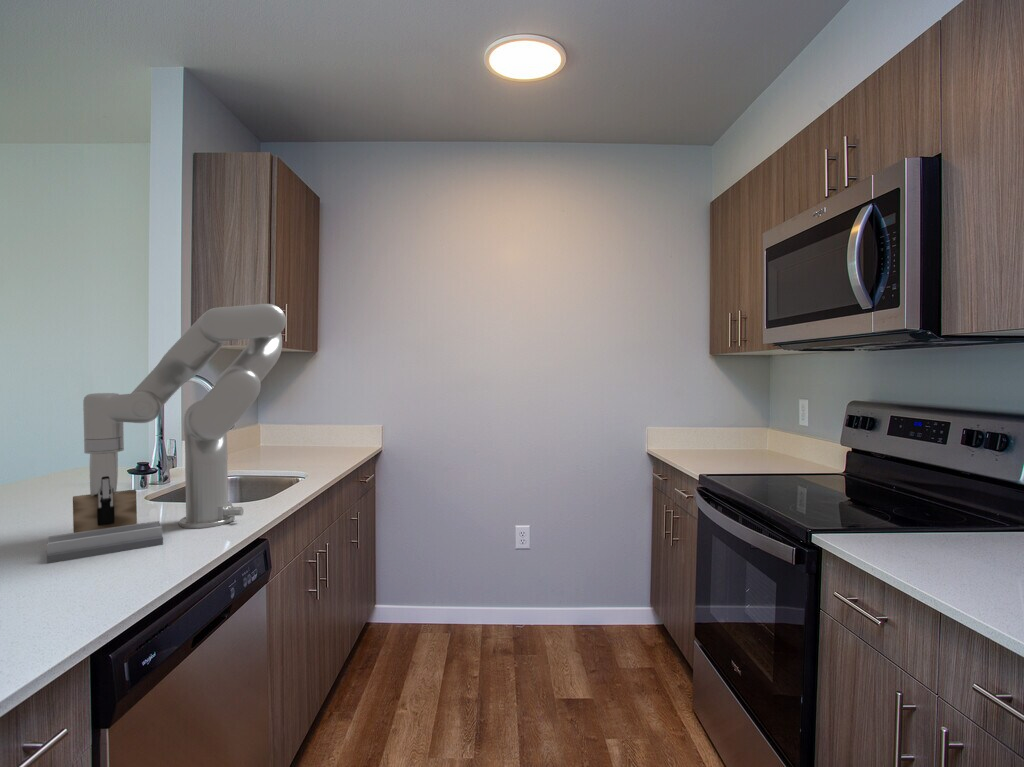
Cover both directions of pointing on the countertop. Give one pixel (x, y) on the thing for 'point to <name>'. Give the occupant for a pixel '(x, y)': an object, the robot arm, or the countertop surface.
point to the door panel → (88, 507)
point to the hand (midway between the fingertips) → (105, 521)
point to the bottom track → (103, 541)
